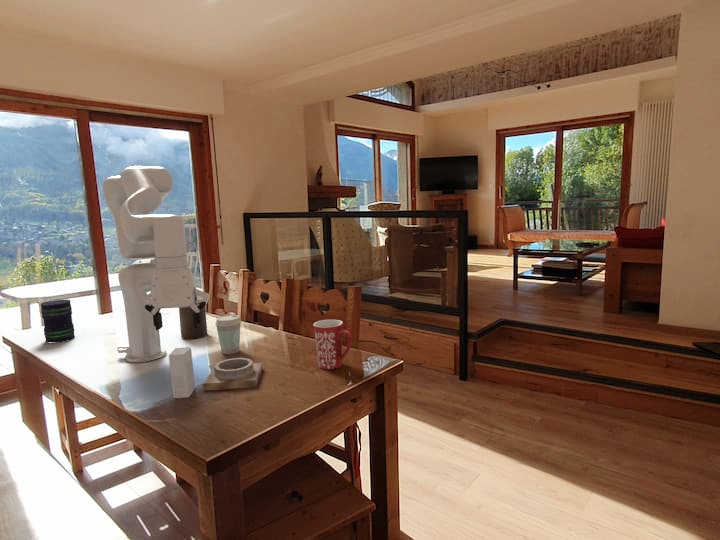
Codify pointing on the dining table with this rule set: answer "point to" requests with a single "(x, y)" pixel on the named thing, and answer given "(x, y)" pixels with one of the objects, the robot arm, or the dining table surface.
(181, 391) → the skincare box
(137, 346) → the robot arm
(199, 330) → the pillar candle
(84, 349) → the dining table surface
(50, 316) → the storage jar
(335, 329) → the mug
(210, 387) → the ring stand
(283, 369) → the dining table surface
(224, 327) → the coffee cup
